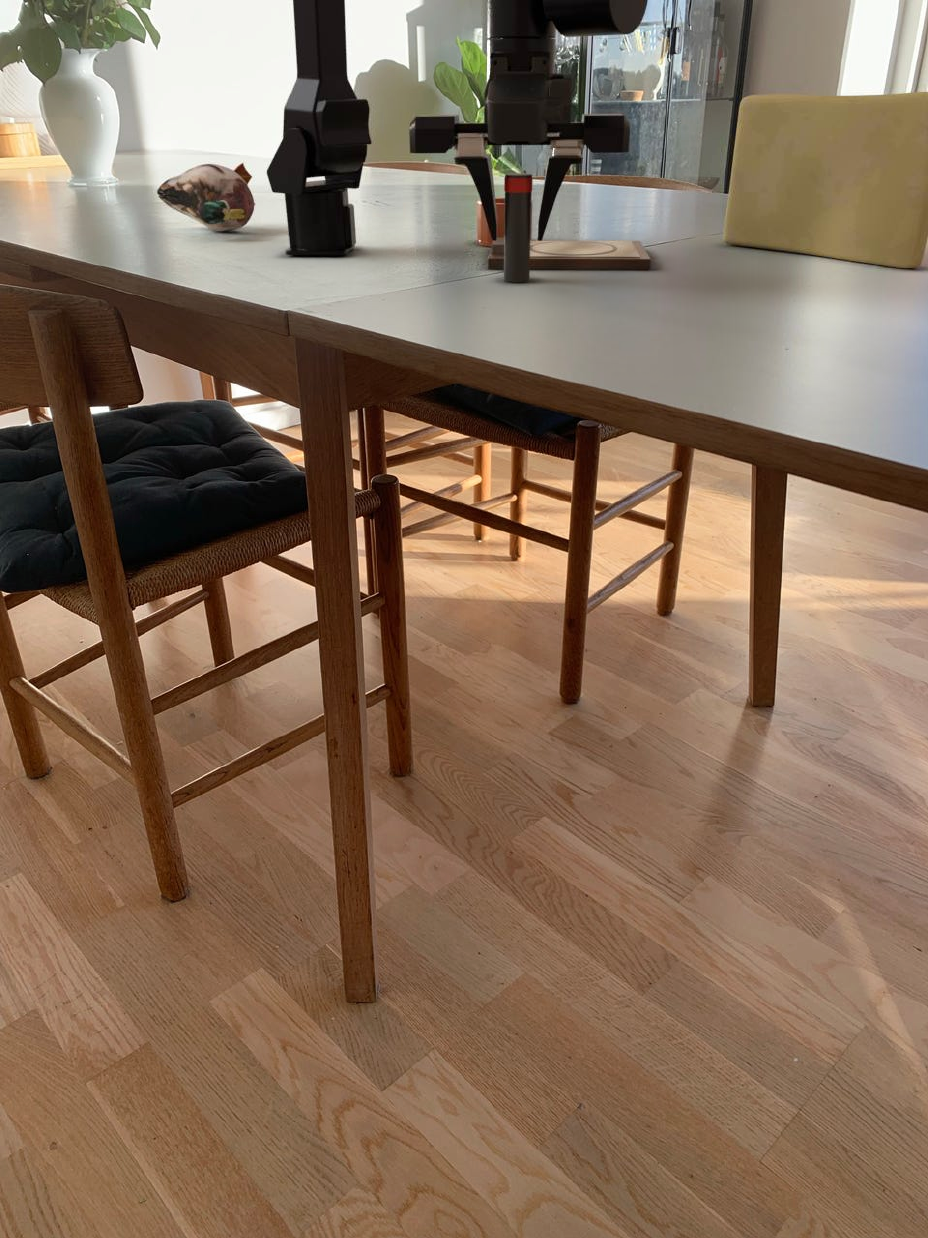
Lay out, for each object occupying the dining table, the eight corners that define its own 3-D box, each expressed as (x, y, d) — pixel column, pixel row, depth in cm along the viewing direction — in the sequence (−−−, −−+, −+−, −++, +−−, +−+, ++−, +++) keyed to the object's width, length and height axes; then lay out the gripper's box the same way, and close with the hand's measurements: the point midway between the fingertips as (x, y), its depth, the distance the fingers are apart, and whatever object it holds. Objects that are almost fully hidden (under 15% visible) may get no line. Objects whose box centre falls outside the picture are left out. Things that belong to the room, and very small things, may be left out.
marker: (502, 282, 85) (503, 175, 80) (503, 277, 87) (505, 172, 82) (529, 282, 84) (532, 175, 80) (529, 277, 87) (532, 172, 82)
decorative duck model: (232, 183, 104) (109, 176, 106) (241, 252, 108) (122, 245, 110) (275, 159, 116) (164, 154, 118) (281, 222, 120) (174, 216, 122)
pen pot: (476, 247, 103) (476, 203, 101) (479, 239, 108) (479, 197, 106) (531, 247, 103) (532, 203, 100) (531, 239, 108) (532, 197, 106)
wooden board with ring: (487, 268, 91) (488, 249, 90) (493, 249, 101) (493, 232, 100) (650, 269, 90) (651, 250, 89) (639, 250, 100) (640, 232, 99)
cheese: (948, 264, 91) (991, 90, 83) (884, 274, 87) (923, 92, 79) (778, 237, 107) (801, 90, 100) (717, 244, 103) (736, 91, 96)
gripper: (396, 36, 70) (405, 254, 78) (643, 33, 68) (626, 254, 76) (414, 41, 79) (420, 235, 87) (631, 39, 78) (617, 235, 86)
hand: (517, 240), depth 84 cm, fingers open, 4 cm apart
